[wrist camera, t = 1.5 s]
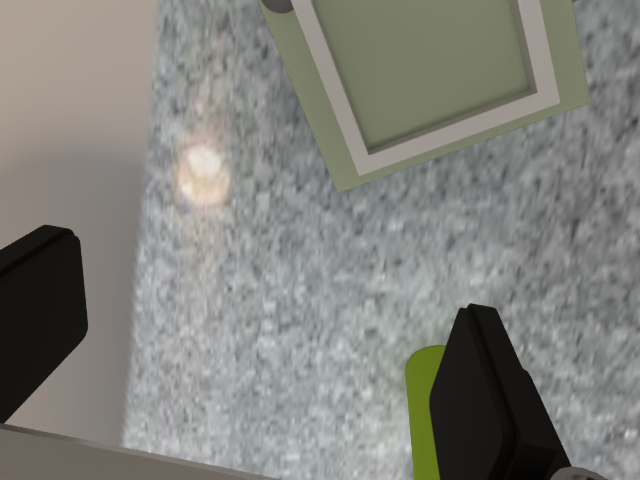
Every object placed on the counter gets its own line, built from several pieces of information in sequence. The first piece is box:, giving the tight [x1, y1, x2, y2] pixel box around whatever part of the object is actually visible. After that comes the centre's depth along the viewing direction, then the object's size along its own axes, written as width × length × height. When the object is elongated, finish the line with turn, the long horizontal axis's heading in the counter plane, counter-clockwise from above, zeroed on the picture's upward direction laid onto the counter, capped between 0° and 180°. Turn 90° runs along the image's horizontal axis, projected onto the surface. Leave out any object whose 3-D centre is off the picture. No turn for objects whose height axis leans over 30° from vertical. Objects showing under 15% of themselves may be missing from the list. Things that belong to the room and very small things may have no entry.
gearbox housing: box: [258, 0, 590, 193], centre depth 27 cm, size 19×14×6 cm
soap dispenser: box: [406, 346, 446, 480], centre depth 32 cm, size 6×7×20 cm
